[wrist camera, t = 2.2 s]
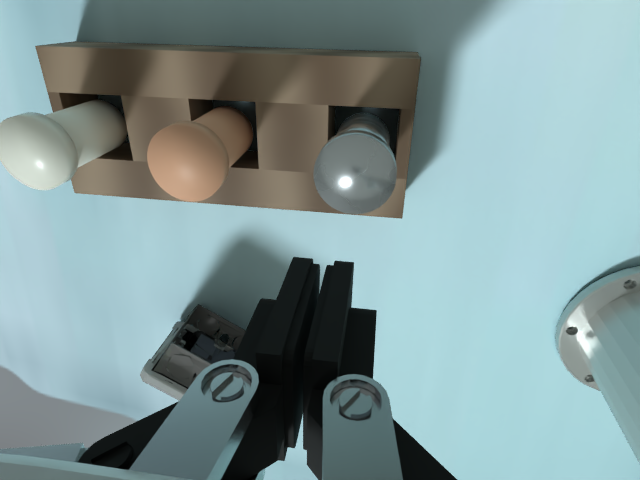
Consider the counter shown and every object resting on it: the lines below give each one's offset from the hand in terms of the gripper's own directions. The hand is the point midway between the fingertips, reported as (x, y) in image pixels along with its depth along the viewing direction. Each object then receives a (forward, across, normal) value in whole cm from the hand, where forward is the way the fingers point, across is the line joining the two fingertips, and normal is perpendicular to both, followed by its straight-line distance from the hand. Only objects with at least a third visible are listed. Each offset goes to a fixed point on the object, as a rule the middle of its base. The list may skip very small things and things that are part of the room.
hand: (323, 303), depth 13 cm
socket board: (+21, +9, 0) cm, 23 cm away
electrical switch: (+21, +12, +20) cm, 32 cm away
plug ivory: (+18, +18, 0) cm, 25 cm away
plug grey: (+18, 0, 0) cm, 18 cm away
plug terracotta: (+18, +9, 0) cm, 20 cm away
